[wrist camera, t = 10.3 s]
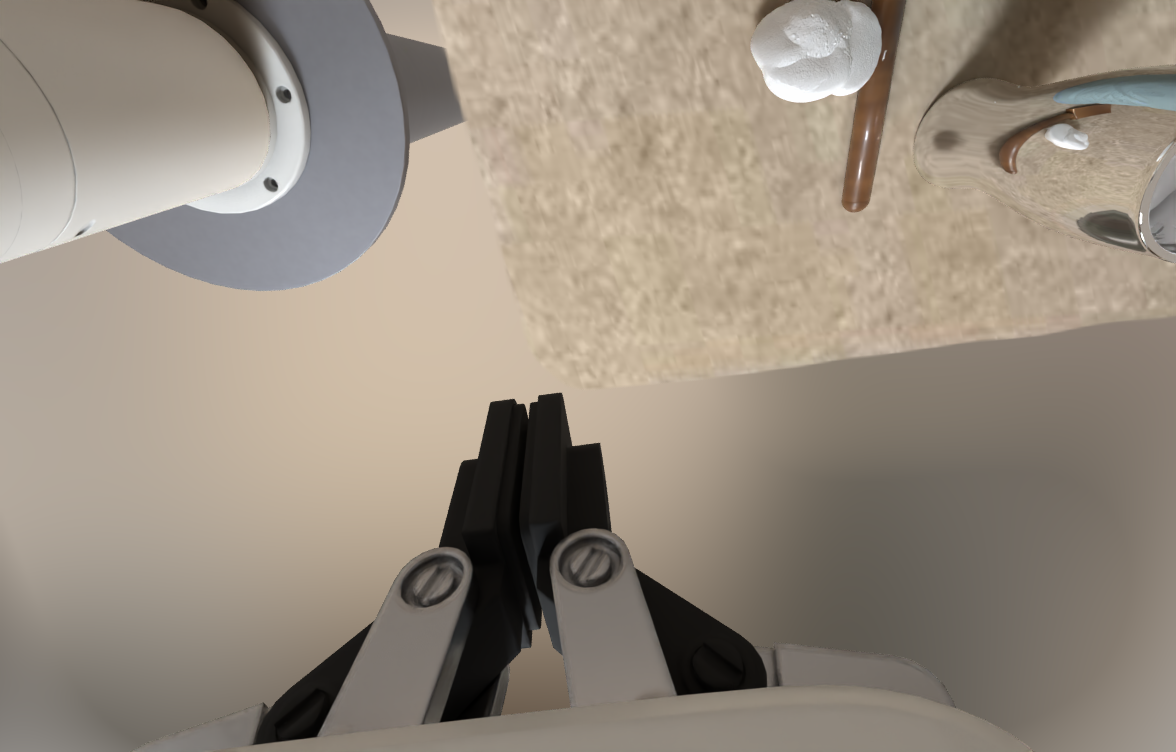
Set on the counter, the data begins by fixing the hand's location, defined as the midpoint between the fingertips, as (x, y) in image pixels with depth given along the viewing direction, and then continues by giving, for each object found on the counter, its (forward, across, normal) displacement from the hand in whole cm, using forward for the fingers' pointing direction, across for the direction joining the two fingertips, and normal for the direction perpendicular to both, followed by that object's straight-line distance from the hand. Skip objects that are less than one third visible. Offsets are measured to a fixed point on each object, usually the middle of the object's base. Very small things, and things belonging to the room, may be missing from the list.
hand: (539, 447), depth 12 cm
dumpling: (+24, -16, -7) cm, 29 cm away
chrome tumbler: (+24, -26, -1) cm, 35 cm away
